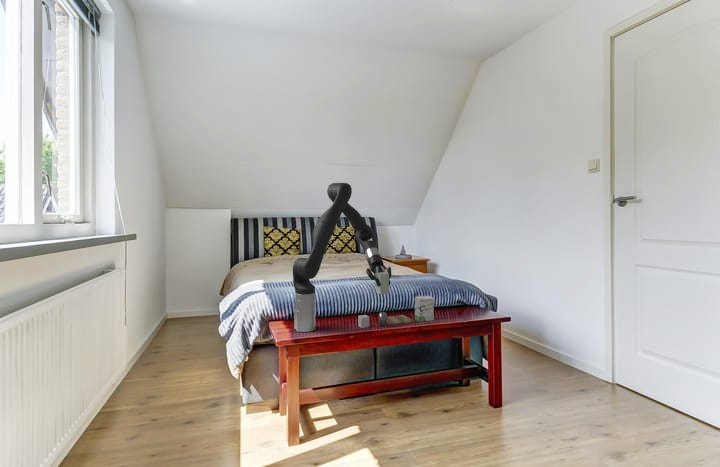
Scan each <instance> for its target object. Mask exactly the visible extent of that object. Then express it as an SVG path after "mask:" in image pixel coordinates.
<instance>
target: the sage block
mask: <svg viewBox="0 0 720 467" xmlns="http://www.w3.org/2000/svg"><path fill="white" fill-rule="evenodd" d="M386 272H387V271H386ZM386 272H378V273H377V275H378V278H379V281H380V283H381V285H380V287H378V286H377V284H376V283H375V284H376V285H375V286H376V290H375V293H377V294H378V295H379V294H380V295H387V294H389V293H390V292H389V291H390V285H389V273H386Z"/></svg>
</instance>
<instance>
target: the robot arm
mask: <svg viewBox="0 0 720 467" xmlns="http://www.w3.org/2000/svg"><path fill="white" fill-rule="evenodd" d="M352 189H353V188H352V186H351V185H350V183H347V182H332V183H330V184H329V185H328V187H327V190H326V192H327V196H328V198H329V199H330V201H331V202H332V204H331V206H330V207H329V208H328V209H327V210H326V211H324V212H323V213H322V214H321V215H320V216H319V218H318V220H317V221H316V224H315V225H314V228H313V230H312V249H311V251H310V254H309V256H308V257H298V258H296V260H294V262H293V266H292V282H293V284H292V285H293V287H294V292H295V293H294V294H295V297H294V299H295V301H294V302H295V308H293V309H294V310H293V311H294V313H293V318H294V320H293V321H294V324H293V326H294V329H296V330H295V331H296V332H298V333H299V332H301V333H306V332H307V333H308V332H313V331H315V330H316V286H315V285H314V284H313V283H312V282H311V279H314V278H316V276H317V275H318V273H319V271H320V268H321V266H322V265H321V264H322V261H323V259H324V256H325V253H326V250H327V247H328V245H329V243H330V240H331V239H332V236H333V234H334V233H335V230H336V226H337V224H338V223H339V220H340V218H341V216H342V214H343V216H345V218H346V219H347V222H349V224H350V226H351V227H352V229H353V230H354V231H356V232H355V235H354V236H355V237H354V238H355V239H356V241H357V242H358V244H360V246H361V248H362V250H363V251H364V254H365V255H364V256H365V259H366V262H367V264H368V266H369V268H367V269H366V271H365V273H366V275H367V276H368V278H369V279H370V281H375V284H377V286H378V287H380V285H381V283H380V281H379V278H378V275H377V273H378V272H386V273H389V286H390V285H391V280H390V279H391V278H392V267H391V266H388V267H386V266H385V264H384V261H383V258H382V256H381V253H380V252H379V249H378V247H377V244H376V242H375V241H374V240H372V239H373V238H375V236H376V235H375V230H374V229H373V227H371V226H370V225H369V224H368V223H366V221H365V220H364V218H363V217H362V215H361V214H360V212H359V211H358V210H357V209H356V208H354V206H352V205H351V204H350V203H349V201H350V199H351V197H352V193H353V191H352Z"/></svg>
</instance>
